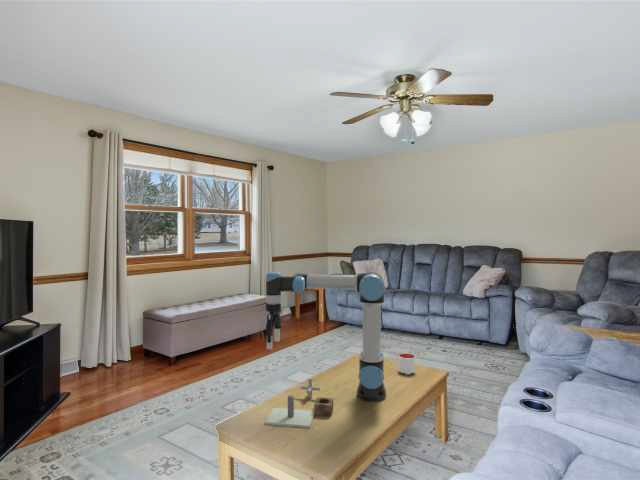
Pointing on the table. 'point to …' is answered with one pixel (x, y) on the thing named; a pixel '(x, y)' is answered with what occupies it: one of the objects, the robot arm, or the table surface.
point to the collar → (323, 406)
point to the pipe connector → (310, 388)
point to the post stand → (290, 416)
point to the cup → (406, 363)
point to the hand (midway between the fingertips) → (273, 345)
